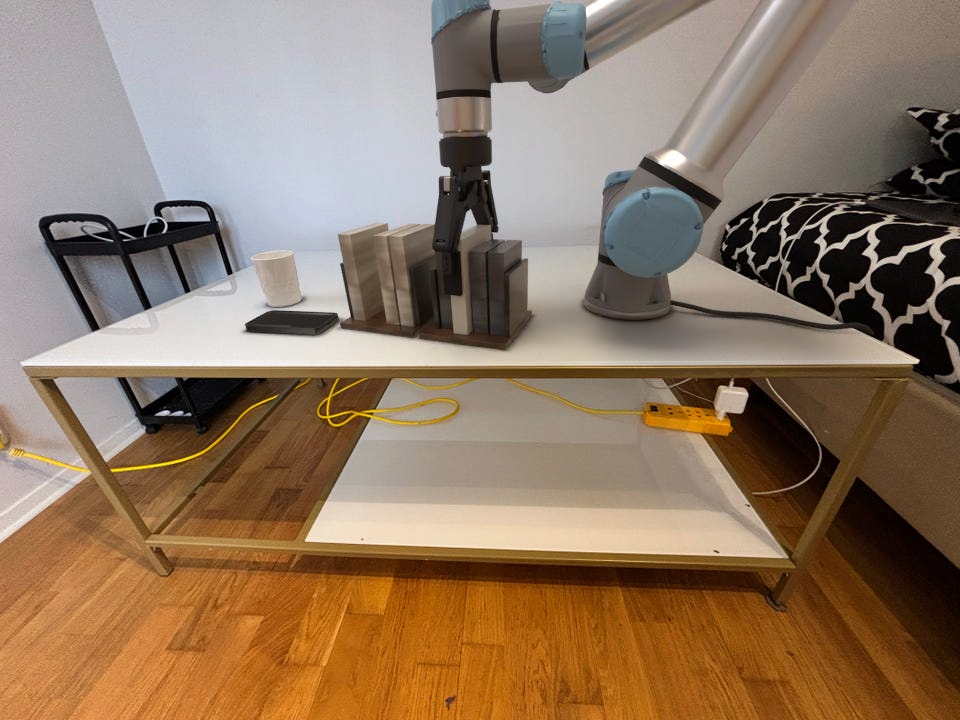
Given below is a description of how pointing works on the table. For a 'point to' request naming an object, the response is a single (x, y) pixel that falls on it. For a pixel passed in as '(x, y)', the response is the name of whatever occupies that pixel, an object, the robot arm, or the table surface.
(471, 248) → the white book
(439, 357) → the table surface
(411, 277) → the beige book set
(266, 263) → the white cup
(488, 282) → the grey stand
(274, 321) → the phone
